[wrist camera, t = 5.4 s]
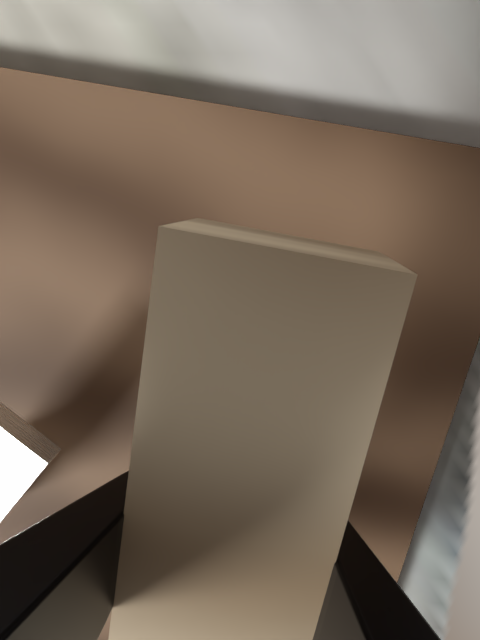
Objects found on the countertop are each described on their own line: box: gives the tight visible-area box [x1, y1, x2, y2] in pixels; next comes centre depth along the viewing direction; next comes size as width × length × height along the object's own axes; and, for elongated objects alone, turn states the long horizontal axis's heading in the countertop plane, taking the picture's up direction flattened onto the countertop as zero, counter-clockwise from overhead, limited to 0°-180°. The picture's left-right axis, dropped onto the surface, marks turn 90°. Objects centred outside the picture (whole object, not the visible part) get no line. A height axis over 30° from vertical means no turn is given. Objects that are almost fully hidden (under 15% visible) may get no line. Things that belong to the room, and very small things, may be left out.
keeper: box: [0, 402, 61, 523], centre depth 16 cm, size 2×6×4 cm, turn 140°
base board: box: [0, 67, 480, 640], centre depth 16 cm, size 23×26×6 cm
